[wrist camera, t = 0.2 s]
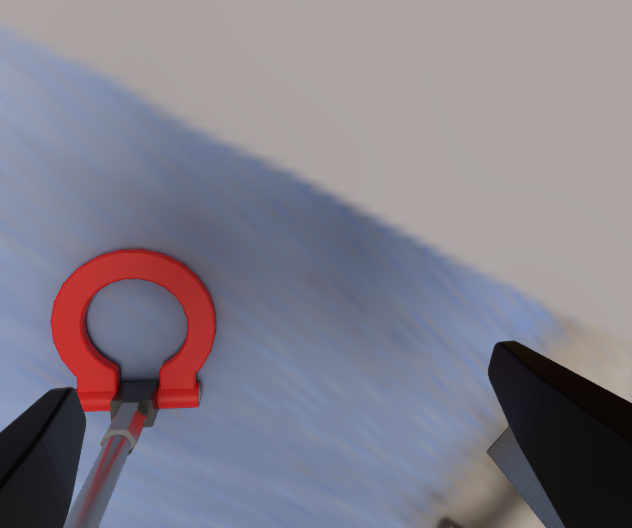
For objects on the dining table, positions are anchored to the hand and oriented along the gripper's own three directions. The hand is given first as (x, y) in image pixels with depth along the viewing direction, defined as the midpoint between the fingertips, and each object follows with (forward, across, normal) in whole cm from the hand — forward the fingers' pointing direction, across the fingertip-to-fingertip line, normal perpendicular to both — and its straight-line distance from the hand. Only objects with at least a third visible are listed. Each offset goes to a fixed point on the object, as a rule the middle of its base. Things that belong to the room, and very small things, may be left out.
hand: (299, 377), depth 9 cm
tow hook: (+14, +7, +9) cm, 18 cm away
